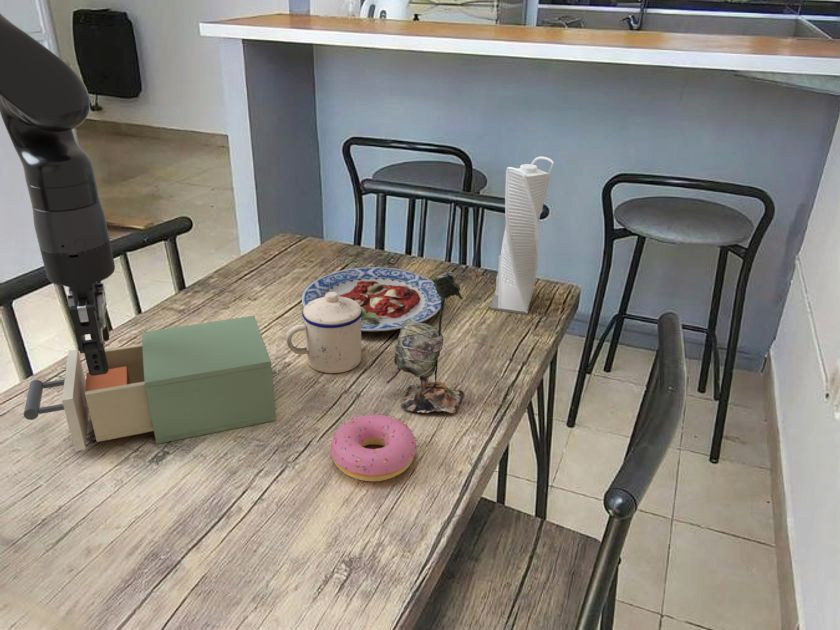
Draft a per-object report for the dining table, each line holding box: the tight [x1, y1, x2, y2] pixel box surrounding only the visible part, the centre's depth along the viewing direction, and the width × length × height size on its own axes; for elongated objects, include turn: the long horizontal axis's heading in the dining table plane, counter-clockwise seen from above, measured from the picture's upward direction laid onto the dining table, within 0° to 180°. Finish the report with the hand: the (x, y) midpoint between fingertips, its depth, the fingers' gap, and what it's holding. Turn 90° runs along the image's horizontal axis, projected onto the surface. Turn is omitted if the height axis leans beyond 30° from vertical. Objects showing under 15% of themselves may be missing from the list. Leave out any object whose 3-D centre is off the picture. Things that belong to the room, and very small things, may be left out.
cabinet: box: [141, 315, 277, 445], centre depth 95 cm, size 16×14×10 cm
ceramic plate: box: [301, 266, 442, 332], centre depth 124 cm, size 26×26×3 cm
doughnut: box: [329, 414, 418, 482], centre depth 86 cm, size 11×11×4 cm
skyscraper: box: [489, 155, 555, 315], centre depth 120 cm, size 8×8×28 cm
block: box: [85, 366, 130, 392], centre depth 91 cm, size 5×5×5 cm
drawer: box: [23, 343, 154, 452], centre depth 91 cm, size 20×12×8 cm, turn 111°
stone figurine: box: [385, 271, 466, 414], centre depth 94 cm, size 8×11×20 cm
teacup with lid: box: [285, 292, 363, 374], centre depth 105 cm, size 12×9×12 cm
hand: (100, 356), depth 88 cm, fingers open, 8 cm apart
